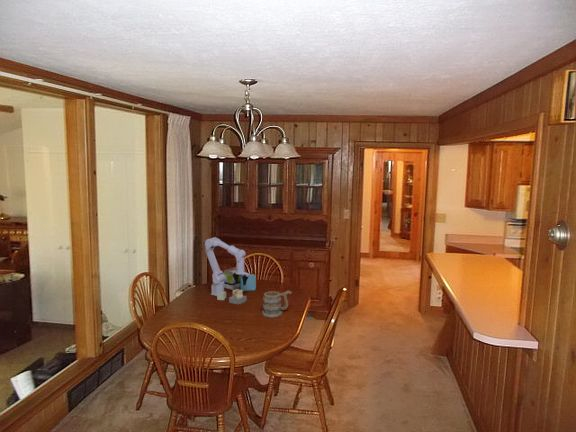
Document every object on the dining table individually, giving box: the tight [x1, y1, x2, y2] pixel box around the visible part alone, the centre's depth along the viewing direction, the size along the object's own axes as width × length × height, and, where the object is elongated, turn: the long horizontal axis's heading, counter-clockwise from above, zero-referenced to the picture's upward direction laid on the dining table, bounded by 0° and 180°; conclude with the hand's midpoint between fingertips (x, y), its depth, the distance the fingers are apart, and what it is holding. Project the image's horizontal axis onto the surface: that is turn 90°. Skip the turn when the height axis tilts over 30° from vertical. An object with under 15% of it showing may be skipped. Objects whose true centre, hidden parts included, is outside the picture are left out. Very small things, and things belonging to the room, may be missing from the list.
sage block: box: [216, 290, 227, 301], centre depth 306 cm, size 5×5×5 cm
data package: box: [239, 273, 257, 292], centre depth 328 cm, size 12×4×12 cm, turn 101°
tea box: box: [223, 266, 246, 291], centre depth 335 cm, size 15×10×15 cm
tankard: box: [261, 290, 293, 318], centre depth 277 cm, size 20×13×15 cm, turn 105°
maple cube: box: [232, 288, 244, 298], centre depth 299 cm, size 5×5×5 cm
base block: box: [228, 295, 247, 305], centre depth 300 cm, size 9×9×4 cm
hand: (240, 284), depth 308 cm, fingers open, 7 cm apart
